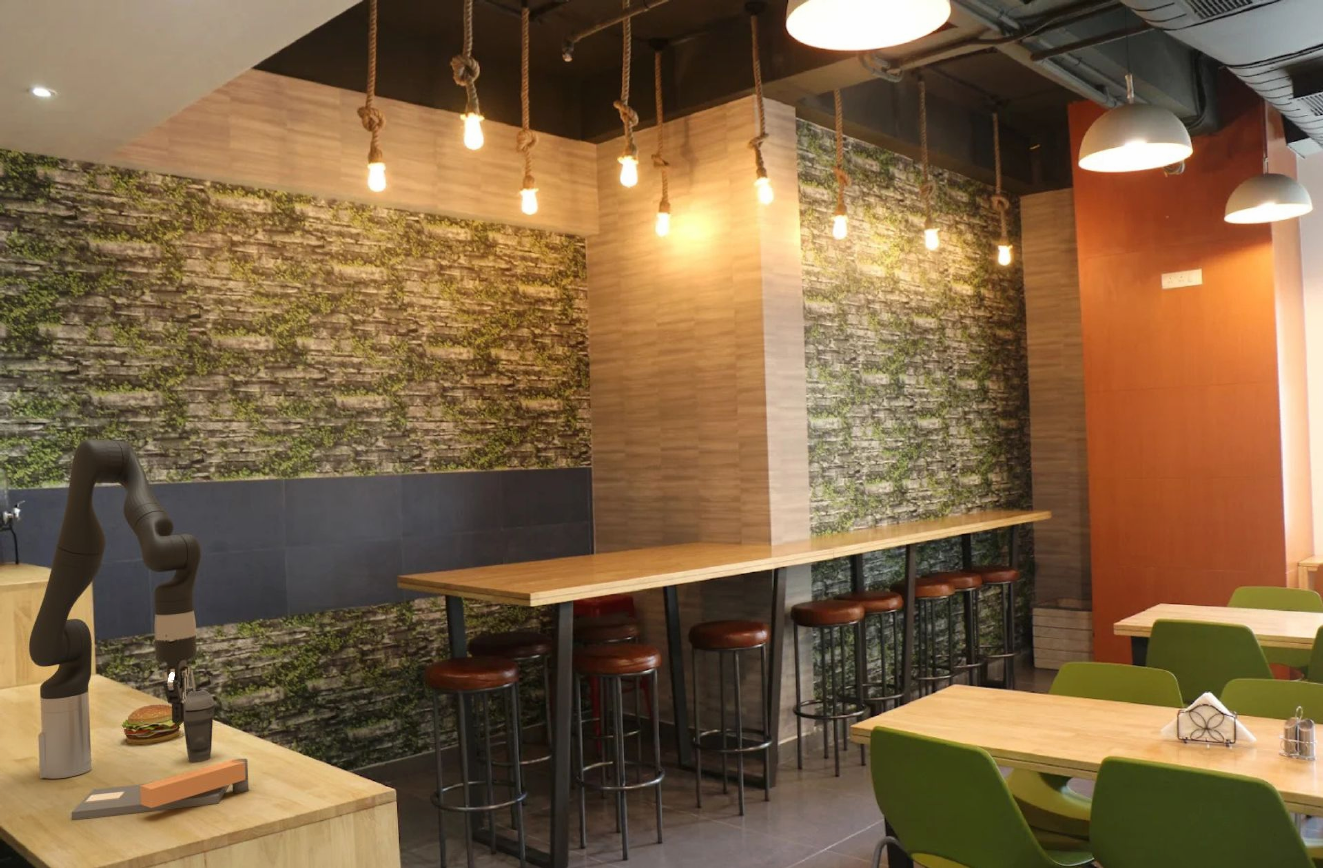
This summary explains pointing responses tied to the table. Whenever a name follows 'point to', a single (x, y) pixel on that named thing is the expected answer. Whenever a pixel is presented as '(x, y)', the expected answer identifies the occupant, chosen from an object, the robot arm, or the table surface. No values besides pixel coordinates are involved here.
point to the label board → (130, 801)
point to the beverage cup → (198, 723)
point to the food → (151, 725)
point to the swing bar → (193, 782)
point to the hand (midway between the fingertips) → (179, 721)
